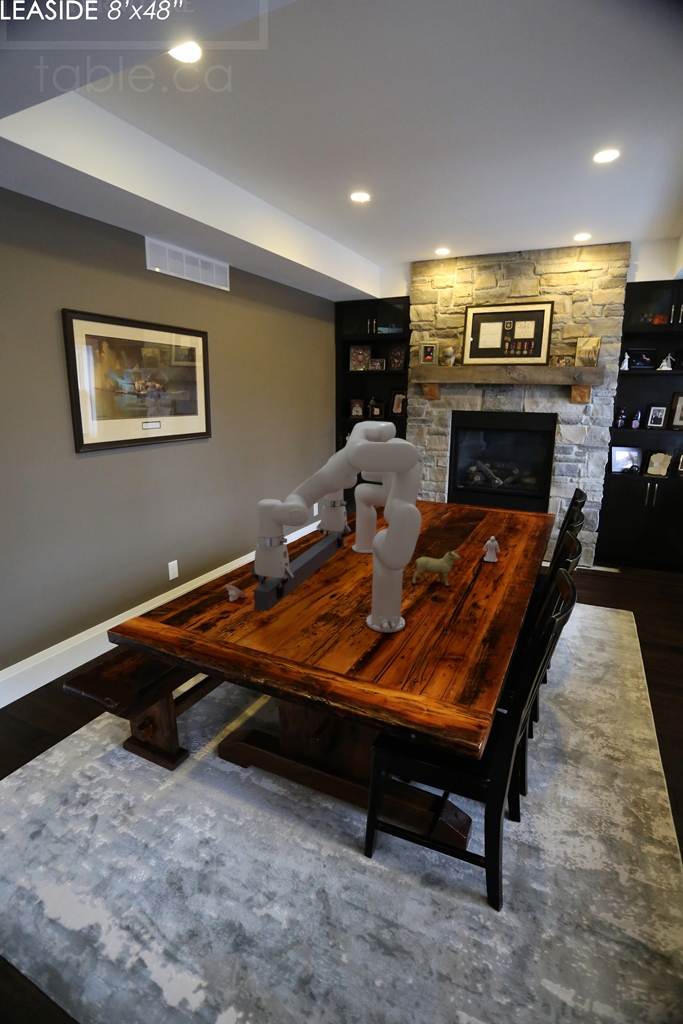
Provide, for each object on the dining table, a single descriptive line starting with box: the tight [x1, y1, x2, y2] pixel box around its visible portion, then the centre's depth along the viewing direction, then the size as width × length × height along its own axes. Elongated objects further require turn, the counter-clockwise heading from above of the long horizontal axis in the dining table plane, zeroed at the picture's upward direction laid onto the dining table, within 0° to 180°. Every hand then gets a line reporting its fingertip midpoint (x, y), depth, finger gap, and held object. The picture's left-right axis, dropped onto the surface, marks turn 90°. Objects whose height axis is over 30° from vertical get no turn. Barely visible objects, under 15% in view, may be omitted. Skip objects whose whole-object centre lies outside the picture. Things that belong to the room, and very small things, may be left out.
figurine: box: [482, 535, 501, 563], centre depth 223 cm, size 8×8×12 cm
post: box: [253, 531, 346, 612], centre depth 179 cm, size 68×5×6 cm, turn 160°
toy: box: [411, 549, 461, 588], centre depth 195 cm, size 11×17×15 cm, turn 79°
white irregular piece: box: [224, 584, 247, 602], centre depth 178 cm, size 8×5×8 cm
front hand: (272, 595), depth 155 cm, fingers closed on post, 5 cm apart
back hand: (333, 545), depth 204 cm, fingers closed on post, 5 cm apart
